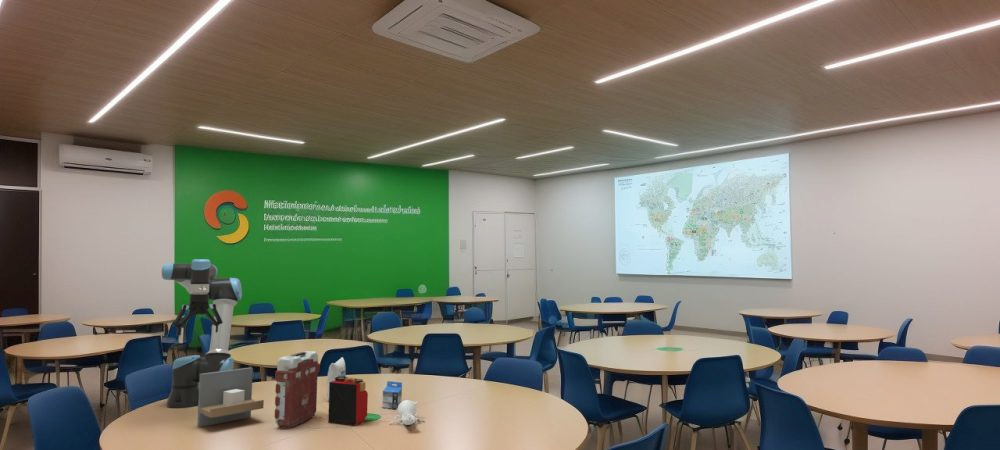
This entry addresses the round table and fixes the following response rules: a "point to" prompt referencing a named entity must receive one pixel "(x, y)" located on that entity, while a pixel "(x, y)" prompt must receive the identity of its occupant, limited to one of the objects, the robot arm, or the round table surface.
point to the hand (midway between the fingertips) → (197, 341)
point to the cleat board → (213, 396)
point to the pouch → (335, 372)
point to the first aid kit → (296, 388)
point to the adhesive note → (233, 397)
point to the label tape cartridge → (392, 395)
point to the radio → (347, 401)
